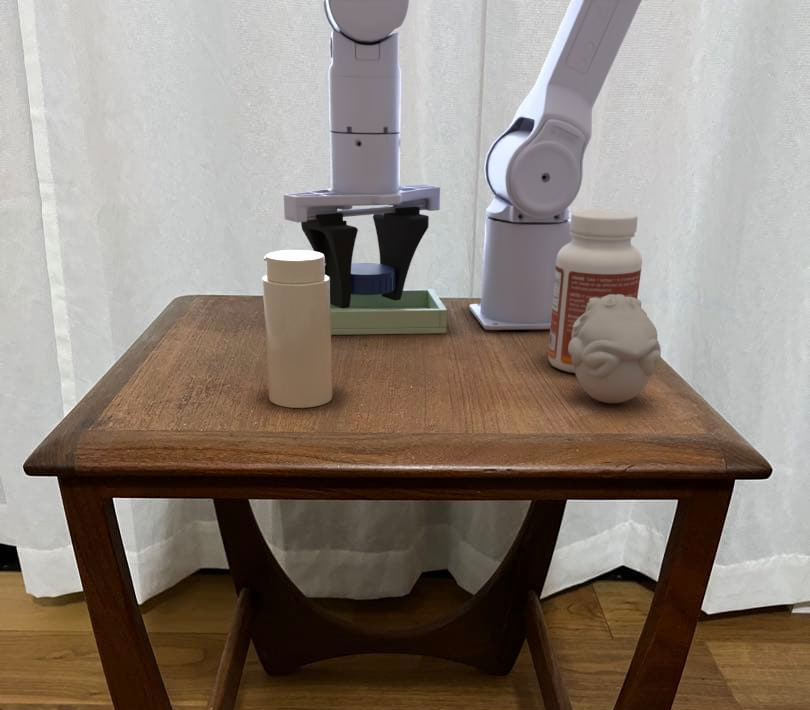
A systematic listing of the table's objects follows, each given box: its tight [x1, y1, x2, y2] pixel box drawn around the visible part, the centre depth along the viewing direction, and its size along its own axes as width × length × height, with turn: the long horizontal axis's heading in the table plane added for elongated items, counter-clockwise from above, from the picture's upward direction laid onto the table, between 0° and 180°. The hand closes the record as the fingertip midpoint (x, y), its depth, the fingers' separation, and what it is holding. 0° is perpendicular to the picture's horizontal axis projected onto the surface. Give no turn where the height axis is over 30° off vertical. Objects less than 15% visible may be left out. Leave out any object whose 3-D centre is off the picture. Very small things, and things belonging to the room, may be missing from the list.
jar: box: [261, 249, 333, 409], centre depth 57 cm, size 4×4×9 cm
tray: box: [330, 288, 448, 336], centre depth 77 cm, size 13×8×2 cm, turn 97°
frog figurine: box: [568, 294, 662, 404], centre depth 59 cm, size 6×7×7 cm
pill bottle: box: [547, 209, 643, 374], centre depth 65 cm, size 6×6×11 cm
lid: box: [351, 262, 395, 295], centre depth 76 cm, size 5×5×2 cm
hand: (365, 302), depth 77 cm, fingers closed on lid, 5 cm apart
